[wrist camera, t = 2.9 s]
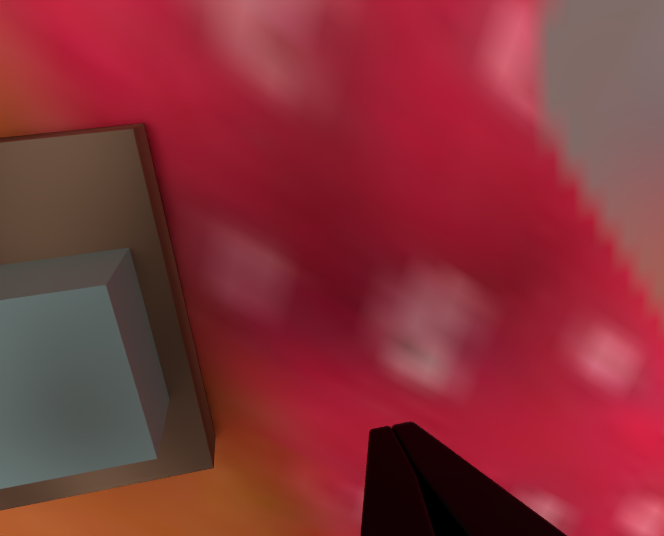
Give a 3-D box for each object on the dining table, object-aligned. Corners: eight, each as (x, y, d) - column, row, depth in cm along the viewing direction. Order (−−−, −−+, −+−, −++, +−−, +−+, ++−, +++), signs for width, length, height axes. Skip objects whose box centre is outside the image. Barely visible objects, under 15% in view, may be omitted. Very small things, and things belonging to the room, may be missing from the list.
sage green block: (129, 247, 13) (105, 284, 11) (169, 399, 15) (156, 458, 12) (-76, 275, 12) (-147, 321, 10) (-5, 430, 14) (-52, 498, 12)
